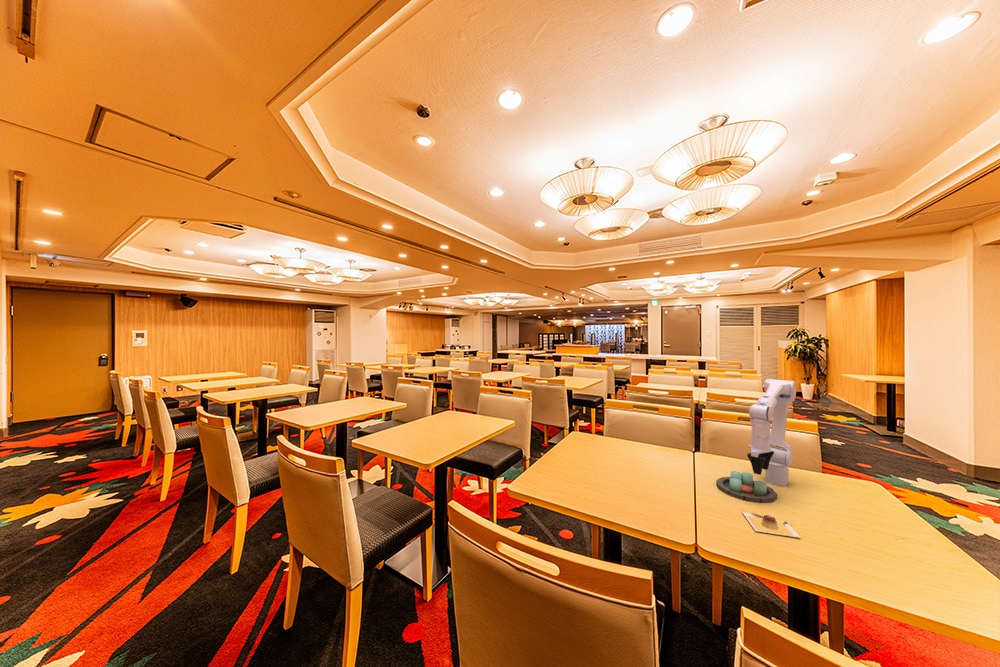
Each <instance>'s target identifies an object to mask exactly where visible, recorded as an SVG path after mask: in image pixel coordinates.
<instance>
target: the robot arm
mask: <svg viewBox="0 0 1000 667" xmlns="http://www.w3.org/2000/svg"><path fill="white" fill-rule="evenodd" d="M763 386H764V387H763V389H764V392H765V394H764V393H763V394H762V395H760V397H759V398H758V400H756V402H755V403H754V404H751V405H750V406H749V409H748V416H749V419H750V420H749V422H750V424H751V444H748V445H747V447H748V448H750V449H751V450H750V452H748V453H747V454H746V455H747V458H748V460H749V461H750V464H751V467H752V471H753V474H756V475H759V476H760V475H762V473H763V472H762V471H763V470H764V482H765V483H767V484H770V485H772V486H777V487H787V486H788V483H789V482H790V481H789V479H790V478H789V475H790V474H789V467H790V466H791V465H792V464H793V460H794V458H793V448H792V447H791V445H789V443H787V442H786V441H785V438H786V430H787V421H788V414H789V413H788V412H789V406H790V404H791V403H793V402H795V400H796V395H797V383H796V381H794V380H783V379H775V378H774V379H773V378H766V379H765V381H764V384H763Z"/></svg>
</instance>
